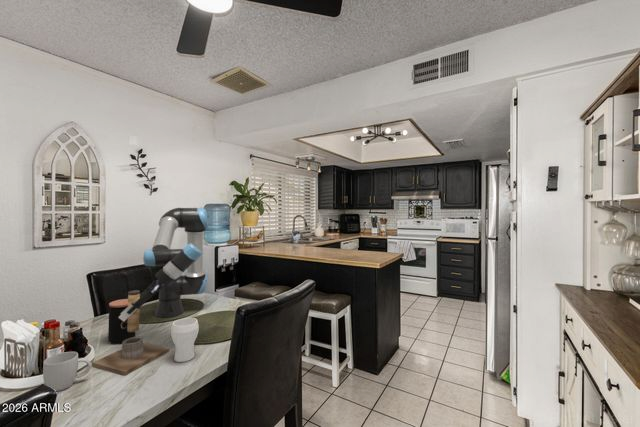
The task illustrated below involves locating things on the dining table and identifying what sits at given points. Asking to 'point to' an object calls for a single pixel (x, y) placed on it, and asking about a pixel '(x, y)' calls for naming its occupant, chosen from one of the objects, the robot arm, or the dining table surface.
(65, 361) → the mug
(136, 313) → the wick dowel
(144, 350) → the base
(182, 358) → the cup
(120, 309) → the coffee jar
